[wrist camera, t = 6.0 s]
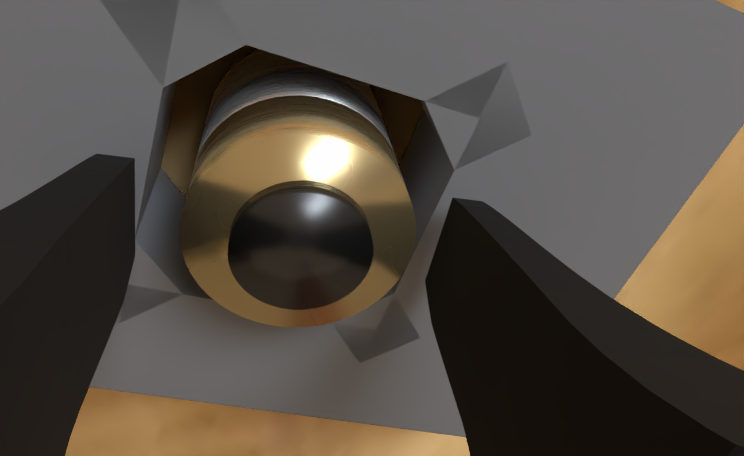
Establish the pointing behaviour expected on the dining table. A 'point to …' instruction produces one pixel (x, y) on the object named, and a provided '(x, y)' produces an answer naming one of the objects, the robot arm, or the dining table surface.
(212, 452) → the dining table surface
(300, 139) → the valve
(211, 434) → the dining table surface
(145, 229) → the socket plate
